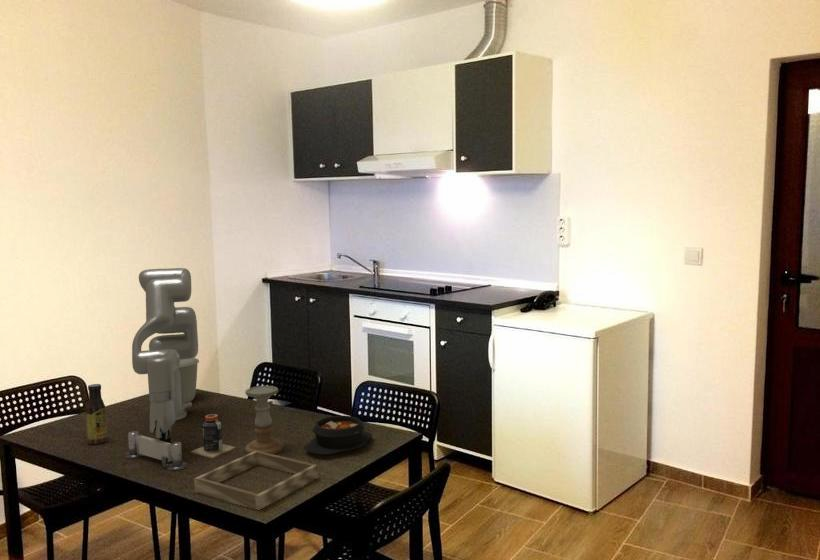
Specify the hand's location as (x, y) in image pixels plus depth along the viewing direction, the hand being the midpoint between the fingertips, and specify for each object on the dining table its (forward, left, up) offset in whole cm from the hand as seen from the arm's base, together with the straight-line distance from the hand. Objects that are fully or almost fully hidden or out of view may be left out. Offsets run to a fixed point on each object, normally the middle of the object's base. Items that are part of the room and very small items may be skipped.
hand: (165, 449), depth 218 cm
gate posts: (+3, -1, -3) cm, 4 cm away
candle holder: (-21, +23, -3) cm, 31 cm away
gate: (+3, -1, -1) cm, 4 cm away
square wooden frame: (+1, +41, -3) cm, 41 cm away
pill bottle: (-12, +8, -2) cm, 15 cm away
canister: (-45, -47, -3) cm, 65 cm away
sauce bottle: (+1, -33, -3) cm, 34 cm away
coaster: (-12, +9, -3) cm, 15 cm away
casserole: (-35, +43, -3) cm, 55 cm away
